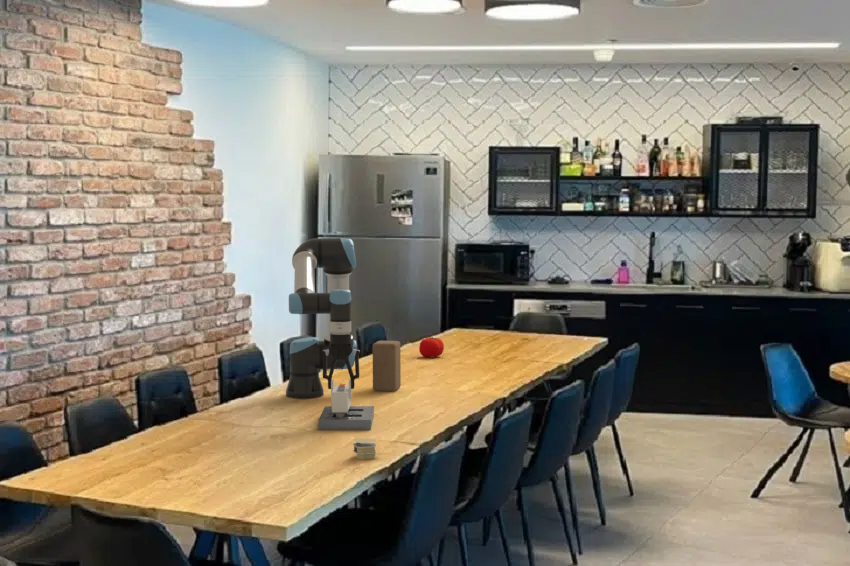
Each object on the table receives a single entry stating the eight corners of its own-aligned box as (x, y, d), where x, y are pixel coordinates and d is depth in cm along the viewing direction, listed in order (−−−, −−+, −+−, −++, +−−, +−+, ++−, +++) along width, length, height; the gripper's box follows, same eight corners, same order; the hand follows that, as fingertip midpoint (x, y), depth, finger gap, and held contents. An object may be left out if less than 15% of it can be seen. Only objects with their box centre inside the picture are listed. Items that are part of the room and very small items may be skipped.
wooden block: (395, 392, 430) (395, 343, 428) (372, 391, 432) (371, 343, 430) (401, 387, 439) (400, 340, 438) (378, 387, 441) (377, 340, 440)
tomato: (416, 356, 529) (416, 336, 528) (440, 355, 533) (440, 335, 532) (423, 359, 518) (422, 339, 517) (447, 358, 522) (447, 338, 521)
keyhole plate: (318, 430, 358) (318, 419, 358) (325, 415, 382) (324, 406, 382) (370, 429, 358) (370, 419, 358) (374, 415, 382) (374, 406, 382)
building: (379, 454, 325) (379, 436, 325) (381, 461, 317) (381, 443, 316) (347, 455, 324) (347, 437, 324) (348, 462, 315) (348, 444, 315)
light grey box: (331, 420, 363) (331, 390, 362) (335, 413, 377) (335, 383, 376) (347, 420, 363) (347, 390, 362) (350, 413, 377) (350, 383, 376)
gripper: (313, 334, 364) (314, 400, 366) (366, 334, 364) (366, 399, 366) (315, 331, 372) (316, 396, 373) (367, 331, 372) (368, 396, 373)
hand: (341, 397), depth 370 cm, fingers closed on light grey box, 5 cm apart
